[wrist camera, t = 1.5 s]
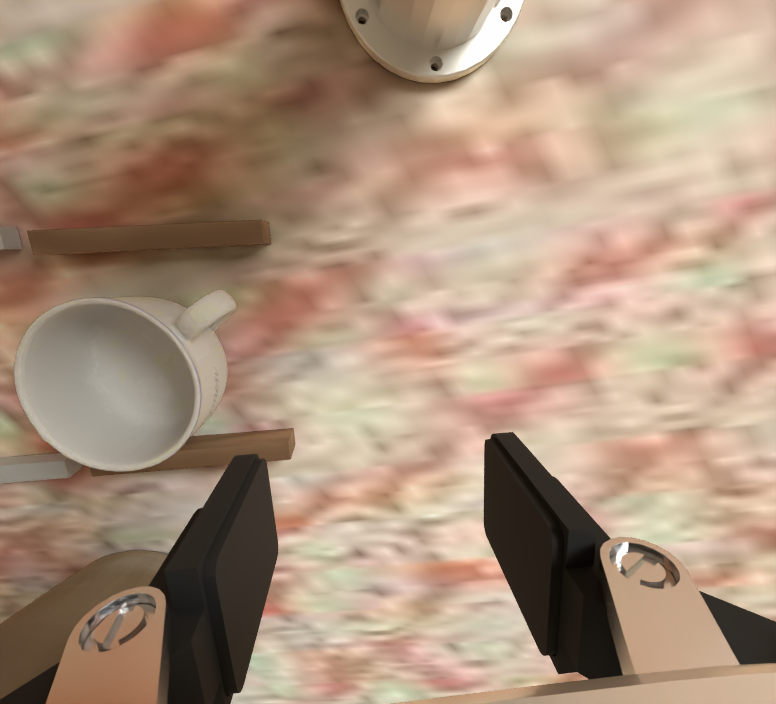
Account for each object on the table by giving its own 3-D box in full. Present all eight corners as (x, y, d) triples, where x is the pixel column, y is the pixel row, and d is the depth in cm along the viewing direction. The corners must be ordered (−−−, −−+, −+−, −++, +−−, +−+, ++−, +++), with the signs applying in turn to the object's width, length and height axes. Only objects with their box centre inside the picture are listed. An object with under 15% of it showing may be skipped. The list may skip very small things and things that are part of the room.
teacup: (151, 442, 32) (85, 501, 24) (65, 328, 29) (-39, 353, 22) (299, 366, 32) (280, 401, 24) (225, 242, 29) (177, 237, 21)
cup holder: (55, 232, 28) (27, 230, 25) (268, 223, 29) (260, 219, 26) (112, 459, 32) (92, 476, 30) (295, 444, 33) (290, 459, 31)
